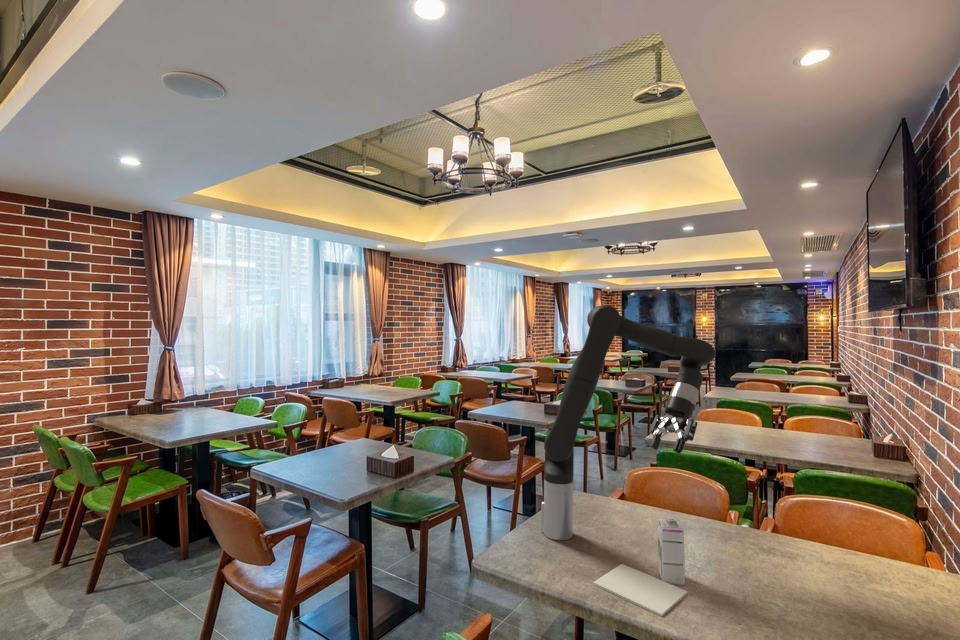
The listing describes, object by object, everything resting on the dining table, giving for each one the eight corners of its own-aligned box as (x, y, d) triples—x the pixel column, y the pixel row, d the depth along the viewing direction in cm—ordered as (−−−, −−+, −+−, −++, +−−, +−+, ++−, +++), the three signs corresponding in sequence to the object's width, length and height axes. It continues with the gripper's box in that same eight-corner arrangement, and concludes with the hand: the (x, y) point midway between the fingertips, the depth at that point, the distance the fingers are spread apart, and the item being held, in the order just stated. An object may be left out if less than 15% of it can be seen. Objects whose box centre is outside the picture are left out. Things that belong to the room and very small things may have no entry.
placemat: (593, 584, 118) (593, 582, 118) (621, 566, 127) (621, 563, 127) (661, 616, 104) (661, 614, 104) (687, 593, 114) (687, 591, 114)
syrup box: (685, 585, 118) (685, 528, 118) (661, 582, 119) (661, 526, 119) (680, 574, 123) (680, 519, 124) (657, 571, 124) (657, 517, 125)
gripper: (655, 394, 144) (638, 441, 139) (693, 395, 132) (676, 447, 126) (671, 406, 147) (654, 453, 141) (710, 408, 134) (693, 459, 128)
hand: (664, 450), depth 134 cm, fingers open, 8 cm apart
